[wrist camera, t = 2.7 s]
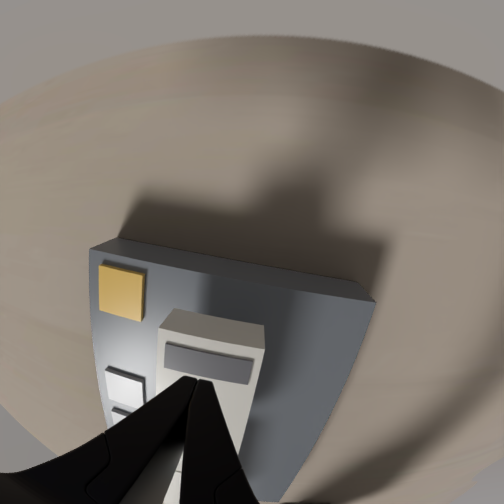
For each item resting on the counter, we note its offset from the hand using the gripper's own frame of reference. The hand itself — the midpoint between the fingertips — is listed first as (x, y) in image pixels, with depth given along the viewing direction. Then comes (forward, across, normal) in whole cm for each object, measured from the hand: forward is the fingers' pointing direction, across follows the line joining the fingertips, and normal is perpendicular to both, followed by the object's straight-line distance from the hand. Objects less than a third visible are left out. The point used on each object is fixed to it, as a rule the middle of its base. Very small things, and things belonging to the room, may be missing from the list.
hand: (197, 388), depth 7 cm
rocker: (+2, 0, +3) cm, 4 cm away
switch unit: (+8, 0, +8) cm, 12 cm away
